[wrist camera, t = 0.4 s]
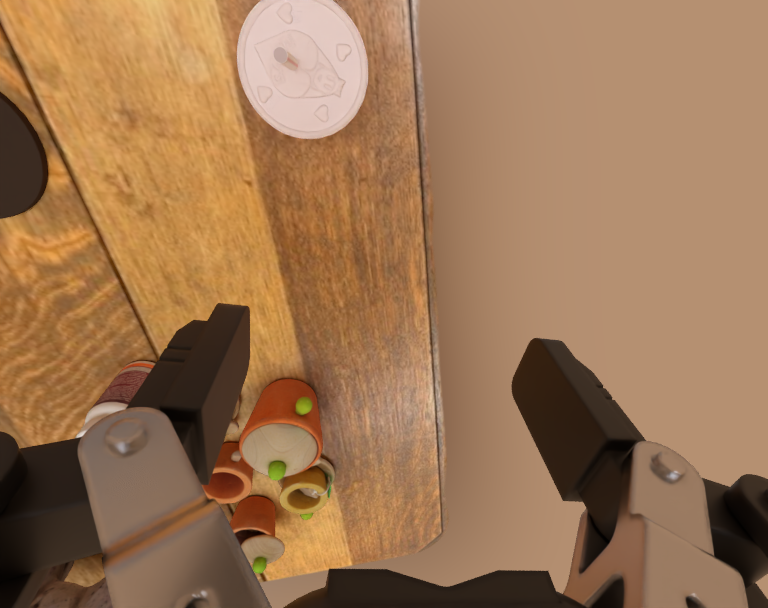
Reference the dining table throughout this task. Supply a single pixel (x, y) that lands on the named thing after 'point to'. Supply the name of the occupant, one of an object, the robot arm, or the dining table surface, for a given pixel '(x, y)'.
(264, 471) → the toy tea set
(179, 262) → the dining table surface
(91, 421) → the pill bottle
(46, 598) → the sculpture
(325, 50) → the smoothie
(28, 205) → the coaster
